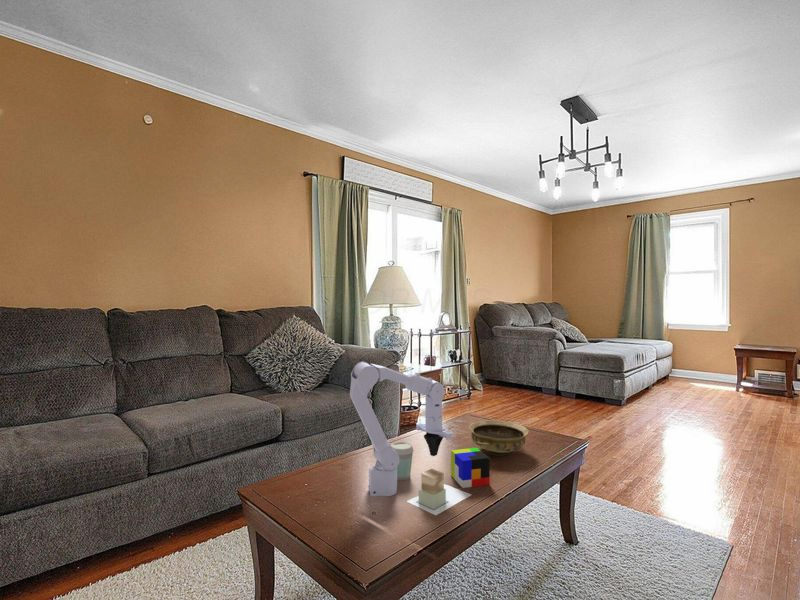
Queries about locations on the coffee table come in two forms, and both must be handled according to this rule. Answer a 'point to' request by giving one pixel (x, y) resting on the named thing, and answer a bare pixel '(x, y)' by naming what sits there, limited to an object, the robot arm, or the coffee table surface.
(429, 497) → the sage base block
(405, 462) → the coffee cup
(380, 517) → the coffee table surface
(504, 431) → the ceramic bowl
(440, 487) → the maple block
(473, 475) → the puzzle toy
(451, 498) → the board
